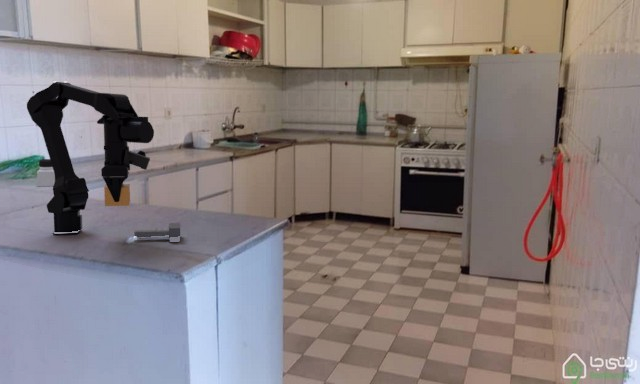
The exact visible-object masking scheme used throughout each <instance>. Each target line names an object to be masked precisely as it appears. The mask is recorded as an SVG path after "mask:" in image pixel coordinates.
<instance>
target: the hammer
mask: <svg viewBox="0 0 640 384" xmlns="http://www.w3.org/2000/svg"><path fill="white" fill-rule="evenodd" d="M133 235H134V236H137V237H151V236H165V235H169V238H170V237H178V236H180V237H181V222H169V224H168V229H162V230H155V229H145V230H143V229H141V230H138V229H137V230H134V234H133ZM134 236H133V237H134ZM169 238H168V239H169Z"/></svg>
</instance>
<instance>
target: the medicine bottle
mask: <svg viewBox="0 0 640 384" xmlns="http://www.w3.org/2000/svg"><path fill="white" fill-rule="evenodd" d="M38 164H39V165H38V167H39V169H38V170H37V171H36V174H37V175H36V176H37V177H36V179H37V187H40V188H41V187H45V188H46V187H48V188H49V187H50V188H51V187H52V188H53V186H54V183H55V180H56V177H55V174H54V170H53V167H52V164H51V160H50V158H44V159H40V160H39V161H38Z"/></svg>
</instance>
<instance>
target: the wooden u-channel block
mask: <svg viewBox="0 0 640 384" xmlns="http://www.w3.org/2000/svg"><path fill="white" fill-rule="evenodd" d="M130 189H131V188H130V183H123V184H122V188H121V193H120V199H119V202H115V201H114V199H113V197H112V195H111V193H110V191H109V189H108V187H107V185H106V184H105V186H104V189H103V190H104V206H105V207H127V206H128V207H129V206H130V203H131V190H130Z"/></svg>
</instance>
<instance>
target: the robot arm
mask: <svg viewBox="0 0 640 384" xmlns="http://www.w3.org/2000/svg"><path fill="white" fill-rule="evenodd" d="M69 101H73V102H77V103H79V104H84V105H86V106H89V107H92V108H93V109H94V111H96V112H98V113H100V114H102V116H101V118H99V119H98V120H97V121H96V124H98V125H103V137H104V138H103V141H104V143H103V150H104V162H103V163H104V164H103V167H102V168H101V169H100V170H101V177H102V179H103V180H104V182H105V185H107V187H108V189H109V191H110V193H111V195H112V197H113V199H114V201H115V202H119V199H120V193H121V188H122V184H124V182H125V181H126V180H127V179H128V178H129V174H130V171H131V166H132V165H133V166H135V167H138V168H140V169H142V170H148V166H149V162H150V160H151V158H150V157H149V156H147V155H146V152H145V151H143V150H139V151H137V152H135V151H131V150H130V146H129V145H128V143H134V144H135V143H137V144H149V143H151V142H152V141H153V139H154V136H155V135H154V134H155V130H154V127H153V125H152V123H151V122H149V117H148V116H139V114H138V113H137V112H136V110H135V109H134V107H133V105H132V103H131V101H130V99H129V97H128V96H127V95H126V94H123V93H121V94H120V93H109V92H99V91H94V90H91V89H87V88H85V87H82V86H77V85H74V84H71V83H70V82H63V81H55V82H52V84H50V85H49V86H48V87H46V88H44V89H42V90H40V91H37V92H36V93H35V94H34V95H32V96H31V97H29V99H28V100H27V102H26V109H27V112H28V114H29V117H30V118H31V120H32V122H33V123H35V125H36V126H37V127H38V128H40V130H41V133H42V136H43V141H44V144H45V147H46V150H47V153H48V156H49V159H50V160H51V164H52V167H53V170H54V174H55V177H56V180H55V183H54V186H53V187H52V193H53V196H52V198H51V199H50V201H48V203H47V204H46V209H47V212H48V213H49V214H53V229H54V231H53V232H72V231H78V230H81V229H82V230H83V215H81V210H82V211H83V210H85V209H86V205H87V202H88V199H89V192H90V190H89V188H88V185H87V181H86V179H85V178H84V177H79V176H78V175H77V174H76V173H75V169H74V166H73V164H72V163H73V162H72V160H71V156H70V154H69V153H70V152H69V150H68V147H67V143H66V141H65V136H64V134H63V130H62V126H61V125H62V121H63V118H64V111H63V110H64V109H65V108H67V106H68V105H69ZM82 230H81V231H82Z"/></svg>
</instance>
